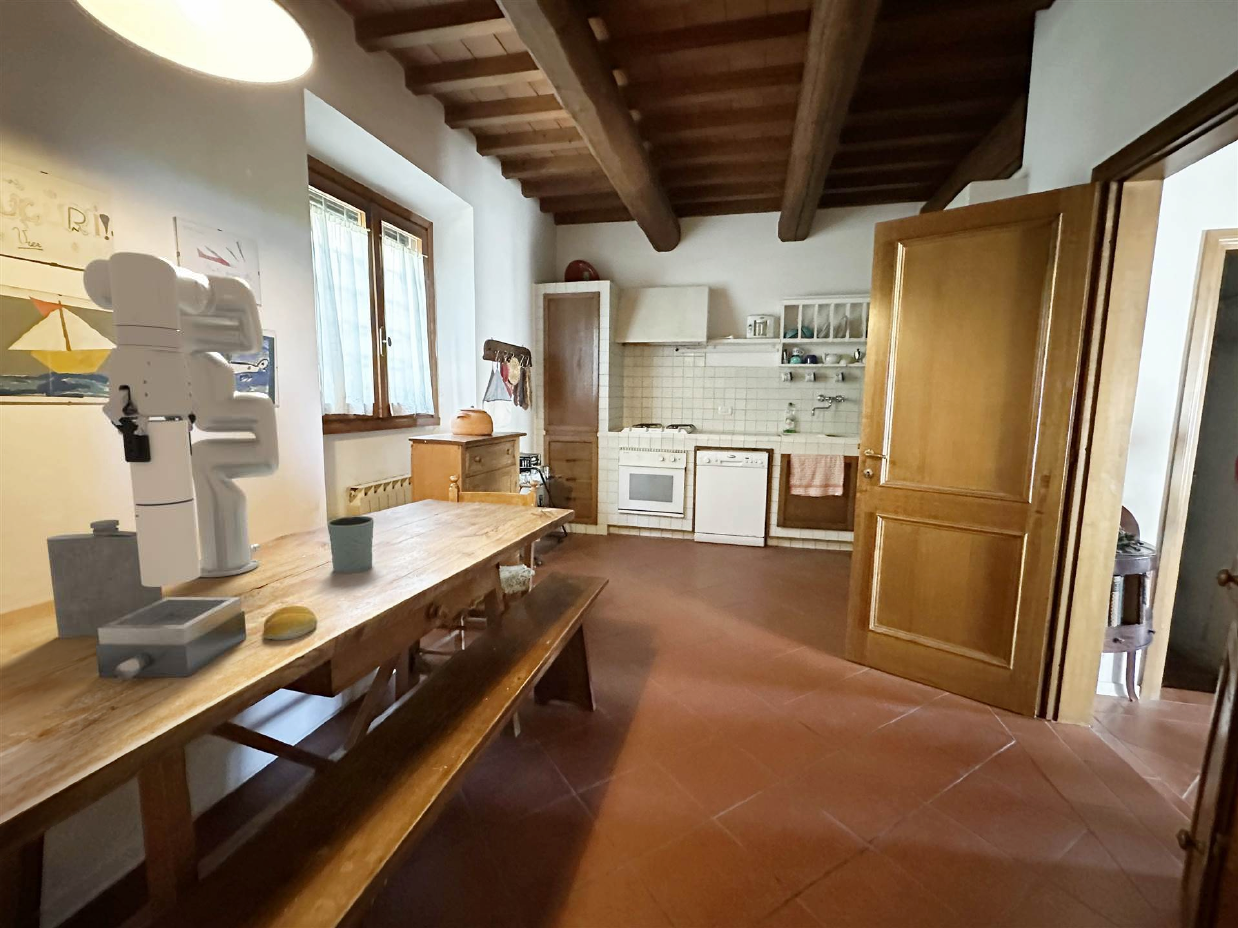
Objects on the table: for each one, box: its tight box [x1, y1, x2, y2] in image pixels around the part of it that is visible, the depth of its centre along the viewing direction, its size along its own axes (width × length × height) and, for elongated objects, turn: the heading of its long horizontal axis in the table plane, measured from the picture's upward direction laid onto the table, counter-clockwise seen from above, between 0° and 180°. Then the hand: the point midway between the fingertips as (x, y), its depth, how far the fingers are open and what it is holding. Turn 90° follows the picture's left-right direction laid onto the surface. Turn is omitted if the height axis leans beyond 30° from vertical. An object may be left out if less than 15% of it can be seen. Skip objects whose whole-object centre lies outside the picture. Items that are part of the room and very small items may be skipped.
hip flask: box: [46, 519, 164, 640], centre depth 93 cm, size 16×4×20 cm, turn 99°
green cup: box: [327, 515, 375, 574], centre depth 130 cm, size 10×10×12 cm
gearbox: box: [95, 596, 247, 681], centre depth 84 cm, size 16×13×8 cm
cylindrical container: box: [129, 419, 201, 587], centre depth 82 cm, size 7×7×25 cm
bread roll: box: [262, 605, 318, 641], centre depth 96 cm, size 8×9×4 cm
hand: (160, 458), depth 82 cm, fingers closed on cylindrical container, 7 cm apart
